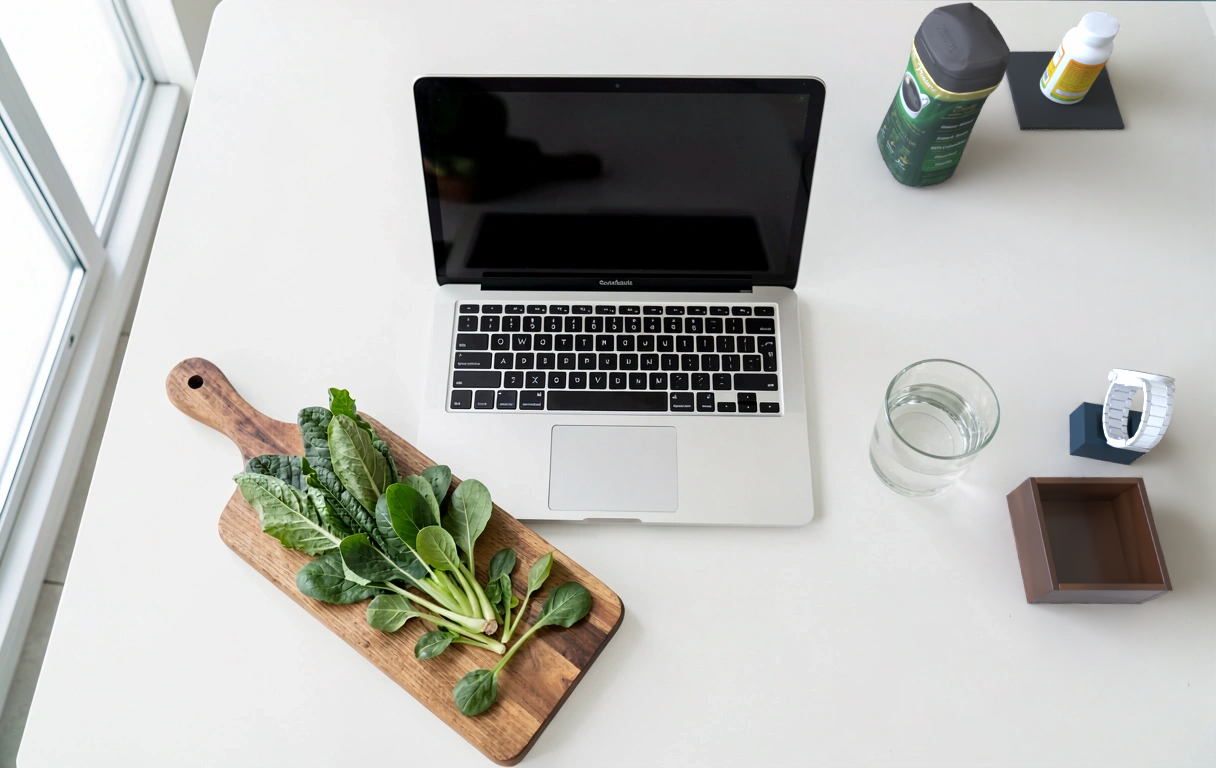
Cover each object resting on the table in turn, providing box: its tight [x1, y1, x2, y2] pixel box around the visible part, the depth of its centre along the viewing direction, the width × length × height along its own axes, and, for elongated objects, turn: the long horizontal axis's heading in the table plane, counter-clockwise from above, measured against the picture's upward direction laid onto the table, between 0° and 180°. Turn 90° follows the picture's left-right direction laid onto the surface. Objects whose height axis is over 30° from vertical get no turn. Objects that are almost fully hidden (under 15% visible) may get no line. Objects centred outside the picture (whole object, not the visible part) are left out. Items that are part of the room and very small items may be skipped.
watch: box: [1068, 368, 1176, 466], centre depth 83 cm, size 6×8×11 cm
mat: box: [1005, 50, 1126, 131], centre depth 108 cm, size 12×12×1 cm
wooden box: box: [1006, 476, 1174, 605], centre depth 81 cm, size 10×10×5 cm
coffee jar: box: [876, 1, 1011, 188], centre depth 95 cm, size 10×8×19 cm
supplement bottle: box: [1040, 11, 1120, 104], centre depth 103 cm, size 5×5×10 cm
